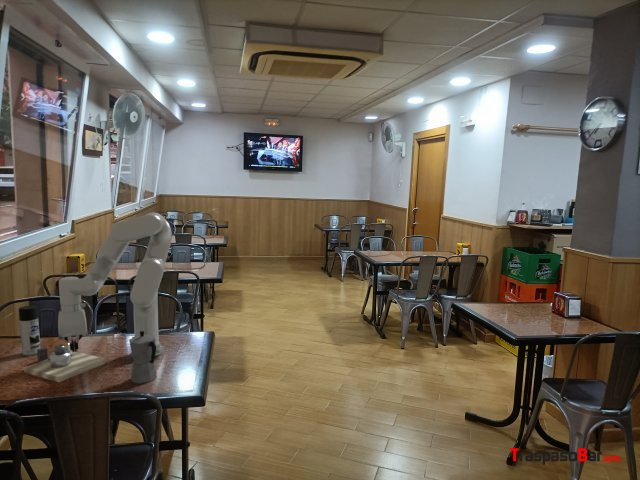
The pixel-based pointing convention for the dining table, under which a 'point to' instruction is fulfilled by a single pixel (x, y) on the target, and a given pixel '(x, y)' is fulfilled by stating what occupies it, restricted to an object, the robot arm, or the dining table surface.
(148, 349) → the coffeepot
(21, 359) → the dining table surface
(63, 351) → the crank
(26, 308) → the spray can
